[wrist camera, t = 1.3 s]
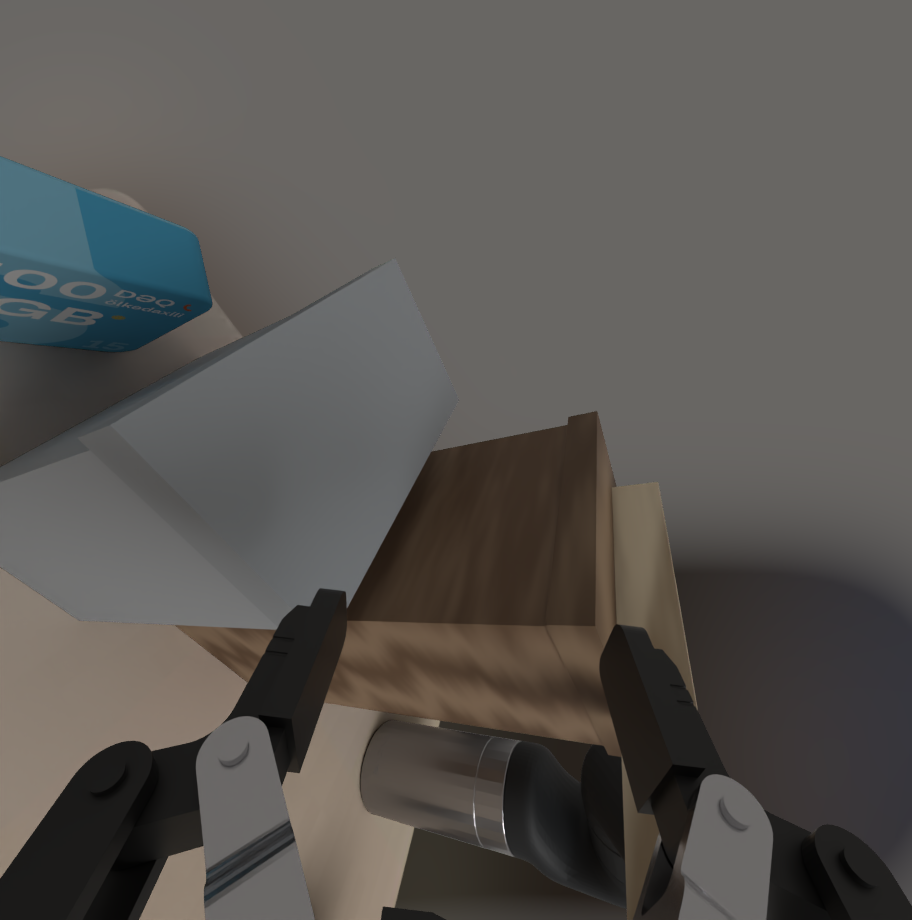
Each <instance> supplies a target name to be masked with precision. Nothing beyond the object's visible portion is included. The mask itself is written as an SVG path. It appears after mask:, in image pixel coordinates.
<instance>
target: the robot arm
mask: <svg viewBox="0 0 912 920" xmlns="http://www.w3.org/2000/svg"><path fill="white" fill-rule="evenodd" d="M346 631H347V602H346V592H345V591H340V590H332V589H324V588H320V589H319V590H318V591H317V593H316V595H315V597H314V599H313V601H312V603H311V605H310V606H303V605H297V606H296V607H294V608H293V609H292V610H291V611H290V612H289V613H288V614H287V615H286V616H285V617H284V618H283V619H282V620H281V622H280V624H279V626H278V628H277V629H276V631H275V633H274V635H273V639H271V641H270V643H269V644H268V646H267V648H266V650H265V654H263V656H262V657H261V659H260V661H259V663H258V665H257V667H256V669H255V671H254V672H253V674H252V676H251V678H250V680H249V682H248V684H247V685H246V687H245V689H244V691H243V693H242V695H241V697H240V698H239V700H238V702H237V704H236V706H235V708H234V709H233V711H232V713H231V714H230V715H229V717H228V718H227V719H226V720H225V721H224V722H223V723H222V724H221V725H220V726H219V727H218V728H216V729H215V730H214V731H213V732H211V733H210V734H208V735H207V736H205V737H203V738H201V739H199V740H196V741H194V742H190V743H186V744H182V745H178V746H173V747H169V748H164V749H160V750H155V751H151V750H150V749H149V747H148V746H147V745H145V744H144V743H141V742H138V741H126V742H121V743H118V744H115V745H112V746H110V747H108V748H106V749H104V750H102V751H101V752H99V753H98V754H96V755H95V756H93V757H92V758H91V759H90V760H88V761H87V762H86V763H85V764H84V765H83V766H82V767H81V768H80V769H79V770H78V771H77V773H76V774H75V775H74V776H73V778H72V779H71V780H70V782H69V783H68V785H67V786H66V787H65V789H64V790H63V792H62V793H61V794H60V796H59V797H58V799H57V800H56V801H55V803H54V804H53V806H52V807H51V808H50V810H49V811H48V813H47V814H46V815H45V817H44V818H43V820H42V821H41V822H40V824H39V825H38V827H37V828H36V829H35V831H34V832H33V834H32V835H31V836H30V838H29V839H28V841H27V842H26V843H25V845H24V846H23V848H22V849H21V850H20V852H19V853H18V855H17V856H16V857H15V859H14V860H13V862H12V863H11V864H10V866H9V867H8V869H7V870H6V871H5V873H4V874H3V876H2V877H1V878H0V920H139V918H140V916H141V914H142V912H143V910H144V908H145V905H146V903H147V901H148V899H149V897H150V895H151V893H152V890H153V888H154V886H155V884H156V882H157V880H158V878H159V875H160V873H161V871H162V869H163V867H164V865H165V863H166V860H167V858H168V856H171V855H174V854H177V853H181V852H184V851H188V850H191V849H194V848H198V847H201V846H204V855H205V865H206V884H205V887H204V908H205V920H315V918H314V914H313V910H312V906H311V901H310V897H309V893H308V889H307V885H306V881H305V877H304V873H303V869H302V865H301V861H300V857H299V852H298V848H297V844H296V840H295V837H294V833H293V829H292V826H291V823H290V819H289V815H288V811H287V806H286V802H285V798H284V794H283V790H282V784H283V781H284V779H285V776H286V773H287V772H295V773H300V770H301V767H302V764H303V761H304V759H305V756H306V753H307V750H308V747H309V744H310V741H311V738H312V735H313V733H314V730H315V727H316V724H317V721H318V718H319V715H320V712H321V709H322V706H323V704H324V701H325V698H326V695H327V692H328V689H329V686H330V683H331V680H332V678H333V675H334V672H335V669H336V666H337V663H338V660H339V657H340V654H341V652H342V649H343V645H344V642H345V637H346ZM599 672H600V678H601V682H602V686H603V690H604V693H605V697H606V700H607V704H608V708H609V711H610V715H611V718H612V722H613V726H614V729H615V733H616V736H617V740H618V744H619V747H620V751H621V755H622V757H618V756H612V755H608V753H607V751H606V749H605V747H604V746H602V745H595V744H593V745H592V746H591V747H590V749H589V750H588V752H587V754H586V756H585V759H584V762H583V766H582V772H581V782H579V781H577V780H576V779H574V778H573V777H572V776H571V775H570V774H568V773H567V772H566V771H565V770H564V769H563V768H562V767H561V765H560V764H559V763H558V761H557V760H556V758H555V757H554V756H553V754H552V753H551V752H550V751H549V750H548V749H547V748H546V747H544V746H542V745H540V744H536V743H531V742H524V741H517V740H511V739H505V738H499V737H492V736H486V735H480V734H474V733H468V732H462V731H456V730H450V729H444V728H438V727H432V726H426V725H421V724H415V723H409V722H403V721H397V720H390V721H387V722H385V723H384V724H383V725H382V726H381V727H380V728H379V729H378V730H377V731H376V733H375V734H374V736H373V738H372V739H371V742H370V744H369V746H368V748H367V751H366V754H365V758H364V762H363V766H362V772H361V795H362V800H363V803H364V806H365V808H366V809H367V810H368V812H370V813H371V814H374V815H377V816H381V817H384V818H387V819H390V820H394V821H397V822H400V823H403V824H406V825H410V826H413V827H416V828H420V829H423V830H426V831H430V832H433V833H436V834H440V835H443V836H446V837H449V838H453V839H456V840H460V841H463V842H466V843H470V844H473V845H476V846H479V847H483V848H486V849H490V850H493V851H497V852H500V853H503V854H507V855H510V856H513V857H516V858H519V859H523V860H525V861H527V862H530V863H531V864H532V865H534V866H535V867H536V868H537V869H538V870H539V871H540V872H542V873H543V874H544V875H545V876H547V877H548V878H550V879H551V880H553V881H555V882H557V883H559V884H562V885H564V886H566V887H569V888H572V889H574V890H577V891H580V892H582V893H585V894H587V895H590V896H593V897H595V898H598V899H601V900H603V901H606V902H608V903H611V904H614V905H617V906H619V907H622V908H625V909H627V898H626V870H625V842H624V814H623V785H622V758H623V762H624V765H625V769H626V773H627V776H628V780H629V783H630V787H631V791H632V794H633V798H634V802H635V805H636V809H637V812H638V813H642V814H650V815H654V816H655V820H656V823H657V826H658V829H659V835H658V838H657V841H656V844H655V848H654V851H653V854H652V858H651V861H650V864H649V868H648V871H647V874H646V878H645V881H644V884H643V888H642V891H641V894H640V898H639V901H638V905H637V908H636V911H635V914H634V917H633V920H912V906H911V904H910V903H909V901H908V899H907V898H906V896H905V894H904V893H903V891H902V890H901V888H900V886H899V885H898V883H897V881H896V880H895V878H894V877H893V875H892V873H891V872H890V870H889V869H888V868H887V866H886V865H885V864H884V862H883V861H882V860H881V859H880V858H879V857H878V855H877V854H876V853H875V852H874V851H873V850H872V849H871V848H870V847H868V845H866V844H865V843H864V842H863V841H862V840H860V839H859V838H858V837H856V836H855V835H853V834H852V833H850V832H848V831H847V830H845V829H842V828H840V827H838V826H834V825H822V826H821V827H819V828H817V829H816V830H815V831H814V832H812V833H811V832H809V831H807V830H805V829H802V828H800V827H798V826H796V825H794V824H792V823H790V822H788V821H786V820H783V819H781V818H779V817H777V816H775V815H773V814H770V813H769V812H767V811H765V810H763V808H762V806H761V805H760V804H759V802H758V801H757V800H756V799H755V797H754V796H753V795H752V794H751V793H750V792H749V791H748V790H747V789H746V788H744V787H743V786H742V785H741V784H739V783H737V782H736V781H735V780H733V779H731V778H730V777H729V775H728V774H727V772H726V770H725V768H724V766H723V764H722V762H721V760H720V757H719V755H718V753H717V751H716V749H715V747H714V745H713V743H712V740H711V738H710V736H709V734H708V732H707V730H706V728H705V725H704V723H703V721H702V719H701V717H700V715H699V713H698V710H697V708H696V706H694V704H693V703H694V702H693V700H692V697H691V695H690V693H689V691H688V690H686V685H685V683H684V680H683V678H682V676H681V674H680V672H679V670H678V668H677V666H676V665H675V664H674V663H673V661H672V660H671V659H670V658H669V657H668V656H667V654H666V653H665V652H664V651H663V650H662V649H655V648H654V647H653V645H652V642H651V640H650V638H649V635H648V633H647V631H646V630H645V629H644V628H642V627H635V626H627V625H619V624H616V625H615V626H614V627H613V630H612V632H611V634H610V636H609V638H608V641H607V643H606V645H605V647H604V650H603V652H602V654H601V657H600V662H599ZM381 920H446V919H444V918H442V917H440V916H438V915H436V914H434V913H432V912H423V911H415V910H407V909H398V908H391V907H383V910H382V916H381Z"/></svg>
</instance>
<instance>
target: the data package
mask: <svg viewBox="0 0 912 920" xmlns="http://www.w3.org/2000/svg"><path fill="white" fill-rule="evenodd" d="M211 307H212V299H211V294H210V290H209V285H208V281H207V276H206V272H205V268H204V263H203V258H202V254H201V249H200V245H199V241H198V239H197V237H196V235H195V234H194V233H193V232H191V231H190V230H188V229H187V228H185V227H182V226H180V225H178V224H175V223H172V222H170V221H167V220H165V219H162V218H159V217H157V216H154V215H152V214H149V213H146V212H144V211H141V210H139V209H136V208H133V207H131V206H128V205H126V204H123V203H120V202H118V201H115V200H113V199H110V198H107V197H105V196H102V195H100V194H97V193H94V192H92V191H89V190H87V189H84V188H81V187H79V186H76V185H74V184H71V183H69V182H66V181H63V180H61V179H58V178H56V177H53V176H50V175H48V174H45V173H43V172H40V171H37V170H35V169H32V168H30V167H27V166H24V165H22V164H19V163H17V162H14V161H11V160H9V159H6V158H4V157H1V156H0V341H5V342H15V343H25V344H35V345H46V346H56V347H66V348H76V349H86V350H96V351H106V352H124V351H131V350H135V349H138V348H140V347H142V346H144V345H145V344H147V343H149V342H151V341H153V340H155V339H157V338H158V337H160V336H162V335H164V334H166V333H168V332H170V331H171V330H173V329H175V328H177V327H179V326H181V325H183V324H184V323H186V322H188V321H190V320H192V319H194V318H196V317H197V316H199V315H201V314H203V313H205V312H207V311H208V310H210V309H211Z"/></svg>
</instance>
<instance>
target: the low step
mask: <svg viewBox="0 0 912 920" xmlns="http://www.w3.org/2000/svg"><path fill="white" fill-rule="evenodd" d="M458 401H459V399H458V397H457V394H456V392H455V390H454V388H453V385H452V383H451V381H450V379H449V377H448V374H447V372H446V370H445V368H444V366H443V363H442V361H441V359H440V357H439V355H438V352H437V350H436V348H435V346H434V343H433V341H432V339H431V337H430V334H429V332H428V330H427V328H426V326H425V323H424V321H423V319H422V317H421V315H420V312H419V310H418V308H417V306H416V303H415V301H414V299H413V297H412V295H411V292H410V290H409V288H408V286H407V283H406V281H405V279H404V277H403V275H402V272H401V270H400V268H399V266H398V263H397V261H396V259H395V258H394V259H392V260H390V261H388V262H386V263H384V264H382V265H379V266H377V267H375V268H373V269H371V270H369V271H368V272H366V273H364V274H362V275H361V276H359V277H357V278H355V279H354V280H352V281H350V282H348V283H347V284H345V285H343V286H341V287H340V288H338V289H336V290H335V291H333V292H331V293H329V294H328V295H326V296H324V297H322V298H321V299H319V300H317V301H315V302H314V303H312V304H310V305H308V306H307V307H305V308H303V309H302V310H300V311H298V312H296V313H294V314H293V315H291V316H289V317H287V318H285V319H282V320H280V321H278V322H276V323H274V324H272V325H270V326H267V327H265V328H263V329H261V330H258V331H256V332H254V333H252V334H250V335H248V336H246V337H243V338H241V339H239V340H237V341H235V342H232V343H230V344H228V345H226V346H224V347H222V348H219V349H217V350H215V351H213V352H211V353H208V354H206V355H204V356H202V357H200V358H198V359H196V360H194V361H193V362H191V363H189V364H187V365H185V366H183V367H182V368H180V369H178V370H176V371H174V372H173V373H171V374H169V375H167V376H165V377H163V378H162V379H160V380H158V381H156V382H154V383H152V384H151V385H149V386H147V387H145V388H143V389H142V390H140V391H138V392H136V393H134V394H132V395H131V396H129V397H127V398H125V399H123V400H121V401H120V402H118V403H116V404H114V405H112V406H111V407H109V408H107V409H105V410H103V411H101V412H100V413H98V414H96V415H94V416H92V417H90V418H89V419H87V420H85V421H83V422H81V423H80V424H78V425H76V426H74V427H72V428H70V429H69V430H67V431H65V432H63V433H61V434H60V435H58V436H56V437H54V438H52V439H50V440H49V441H47V442H45V443H43V444H41V445H39V446H38V447H36V448H34V449H32V450H30V451H29V452H27V453H25V454H23V455H21V456H19V457H18V458H16V459H14V460H12V461H10V462H8V463H7V464H5V465H3V466H1V467H0V567H1V568H3V569H4V570H6V571H7V572H8V573H10V574H11V575H13V576H14V577H16V578H17V579H19V580H20V581H22V582H23V583H25V584H26V585H28V586H29V587H30V588H32V589H33V590H35V591H36V592H38V593H39V594H41V595H42V596H44V597H45V598H47V599H48V600H50V601H51V602H52V603H54V604H55V605H57V606H58V607H60V608H61V609H63V610H64V611H66V612H67V613H69V614H70V615H72V616H73V617H74V618H76V619H77V620H79V621H101V622H122V623H143V624H164V625H186V626H207V627H228V628H250V629H271V630H276V629H277V628H278V626H279V624H280V622H281V620H282V619H283V618H284V617H285V616H286V615H287V614H288V613H289V612H290V611H291V610H292V609H293V608H294V607H296V606H297V605H303V606H310V605H311V603H312V601H313V599H314V597H315V595H316V593H317V591H318V590H319V589H320V588H324V589H332V590H340V591H345V592H346V602H347V607H348V606H349V604H350V602H351V600H352V598H353V596H354V594H355V593H356V591H357V589H358V587H359V585H360V583H361V581H362V579H363V578H364V576H365V574H366V572H367V570H368V568H369V566H370V565H371V563H372V561H373V559H374V557H375V555H376V553H377V552H378V550H379V548H380V546H381V544H382V542H383V540H384V539H385V537H386V535H387V533H388V531H389V529H390V527H391V525H392V524H393V522H394V520H395V518H396V516H397V514H398V512H399V511H400V509H401V507H402V505H403V503H404V501H405V499H406V498H407V496H408V494H409V492H410V490H411V488H412V486H413V485H414V483H415V481H416V479H417V477H418V475H419V473H420V472H421V470H422V468H423V466H424V464H425V462H426V460H427V458H428V457H429V455H430V453H431V451H432V449H433V447H434V445H435V444H436V442H437V440H438V438H439V436H440V434H441V432H442V431H443V429H444V427H445V425H446V423H447V421H448V419H449V418H450V415H451V414H452V412H453V410H454V408H455V406H456V404H457V403H458Z"/></svg>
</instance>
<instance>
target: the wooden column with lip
mask: <svg viewBox="0 0 912 920" xmlns="http://www.w3.org/2000/svg"><path fill="white" fill-rule="evenodd" d="M612 487H616V483H615V479H614V475H613V471H612V467H611V464H610V460H609V456H608V452H607V448H606V444H605V440H604V436H603V432H602V429H601V424H600V420H599V417H598V413H597V411H596V412H591V413H586V414H581V415H576V416H571V417H569V418H568V425H565V426H560V427H555V428H550V429H545V430H540V431H535V432H530V433H524V434H520V435H514V436H510V437H504V438H499V439H494V440H489V441H484V442H479V443H474V444H468V445H464V446H458V447H453V448H448V449H443V450H438V451H433V452H431V453H430V455H429V457H428V458H427V460H426V462H425V464H424V466H423V468H422V470H421V472H420V473H419V475H418V477H417V479H416V481H415V483H414V485H413V486H412V488H411V490H410V492H409V494H408V496H407V498H406V499H405V501H404V503H403V505H402V507H401V509H400V511H399V512H398V514H397V516H396V518H395V520H394V522H393V524H392V525H391V527H390V529H389V531H388V533H387V535H386V537H385V539H384V540H383V542H382V544H381V546H380V548H379V550H378V552H377V553H376V555H375V557H374V559H373V561H372V563H371V565H370V566H369V568H368V570H367V572H366V574H365V576H364V578H363V579H362V581H361V583H360V585H359V587H358V589H357V591H356V593H355V594H354V596H353V598H352V600H351V602H350V604H349V606H348V607H347V631H346V637H345V642H344V645H343V649H342V652H341V654H340V657H339V660H338V663H337V666H336V669H335V672H334V675H333V678H332V680H331V683H330V686H329V689H328V692H327V695H326V698H325V701H324V703H330V704H337V705H343V706H350V707H356V708H363V709H369V710H376V711H382V712H388V713H395V714H401V715H408V716H414V717H421V718H427V719H434V720H440V721H447V722H453V723H460V724H466V725H472V726H479V727H486V728H492V729H499V730H505V731H511V732H518V733H525V734H531V735H537V736H543V737H550V738H557V739H563V740H569V741H576V742H583V743H589V744H595V745H602V746H604V747H605V749H606V751H607V753H608V755H612V756H618V757H621V751H620V747H619V744H618V740H617V736H616V733H615V729H614V726H613V722H612V718H611V715H610V711H609V708H608V704H607V700H606V697H605V693H604V690H603V686H602V682H601V678H600V672H599V662H600V657H601V654H602V652H603V650H604V647H605V645H606V643H607V641H608V638H609V636H610V634H611V632H612V630H613V627H614V626H615V625H616V624H617V616H616V588H615V560H614V532H613V504H612ZM175 626H176V627H178V628H179V629H180V630H181V631H183V632H184V633H185V634H187V635H188V636H189V637H190V638H192V639H193V640H194V641H196V642H197V643H198V644H199V645H201V646H202V647H203V648H204V649H206V650H207V651H208V652H210V653H211V654H212V655H213V656H215V657H216V658H217V659H218V660H220V661H221V662H222V663H224V664H225V665H226V666H227V667H229V668H230V669H231V670H233V671H234V672H235V673H236V674H238V675H239V676H240V677H241V678H243V679H244V680H245V681H247V682H249V680H250V678H251V676H252V674H253V672H254V671H255V669H256V667H257V665H258V663H259V661H260V659H261V657H262V656H263V654H265V650H266V648H267V646H268V644H269V643H270V641H271V639H273V635H274V633H275V631H276V630H271V629H250V628H228V627H207V626H186V625H175Z"/></svg>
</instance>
